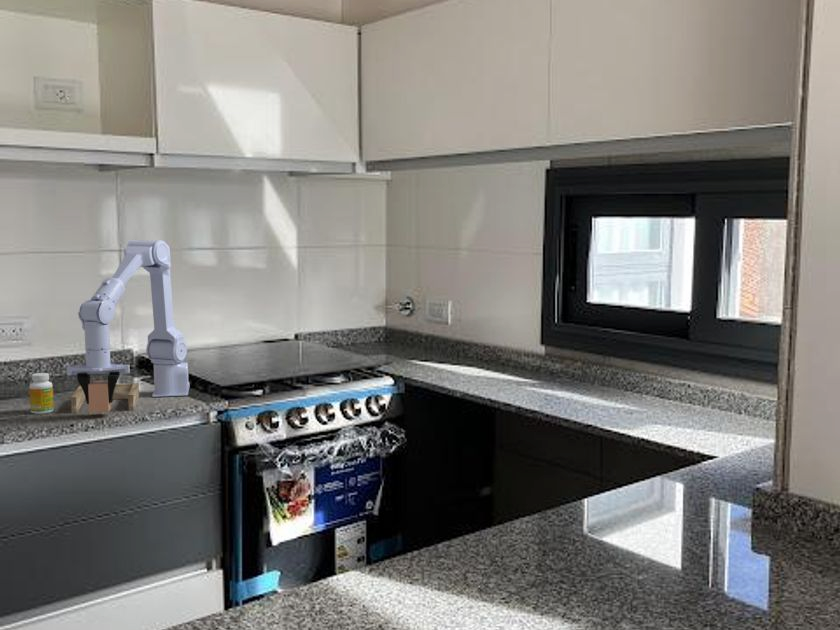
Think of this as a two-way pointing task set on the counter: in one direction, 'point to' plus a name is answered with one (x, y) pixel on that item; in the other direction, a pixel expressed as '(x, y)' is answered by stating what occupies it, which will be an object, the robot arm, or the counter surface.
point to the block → (98, 396)
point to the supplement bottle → (41, 394)
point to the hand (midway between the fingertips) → (99, 402)
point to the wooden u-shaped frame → (120, 392)
